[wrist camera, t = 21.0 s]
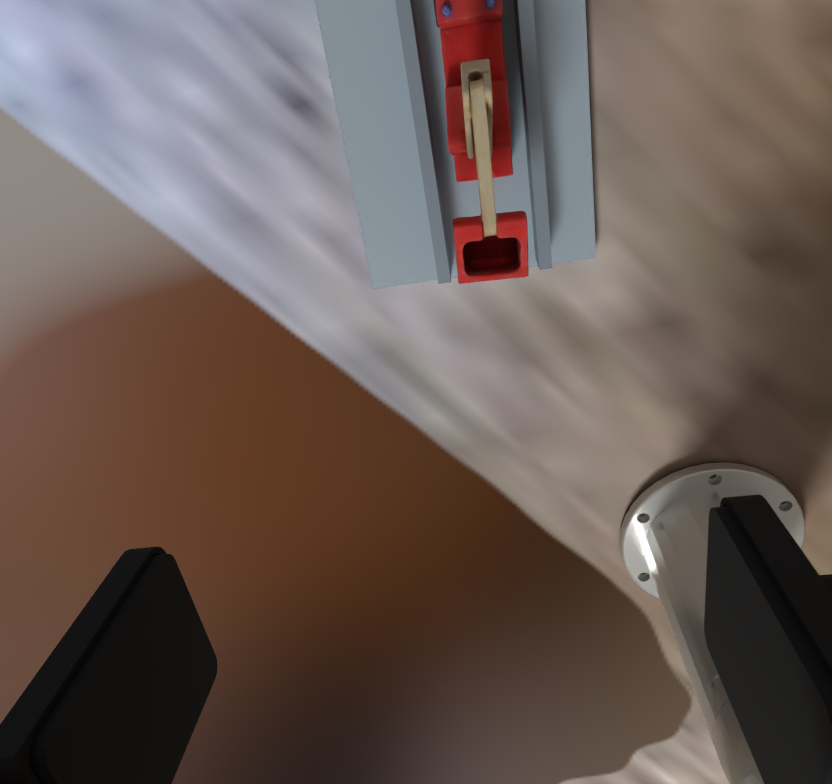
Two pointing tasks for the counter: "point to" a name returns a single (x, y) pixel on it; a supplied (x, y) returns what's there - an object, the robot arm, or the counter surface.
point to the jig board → (428, 142)
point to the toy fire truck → (480, 137)
